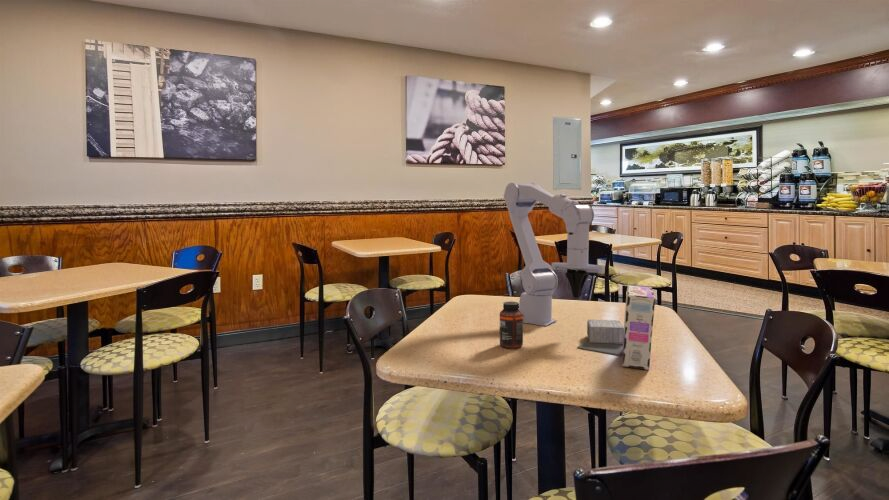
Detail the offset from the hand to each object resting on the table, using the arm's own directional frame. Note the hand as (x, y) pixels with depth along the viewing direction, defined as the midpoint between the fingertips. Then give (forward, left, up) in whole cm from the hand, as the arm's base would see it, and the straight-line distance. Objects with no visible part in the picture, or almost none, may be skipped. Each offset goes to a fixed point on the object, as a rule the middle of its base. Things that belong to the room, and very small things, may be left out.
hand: (576, 297), depth 137 cm
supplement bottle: (-9, -21, -11) cm, 25 cm away
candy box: (+20, -14, -10) cm, 26 cm away
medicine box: (+5, -4, -8) cm, 10 cm away
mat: (+11, -5, -10) cm, 16 cm away
